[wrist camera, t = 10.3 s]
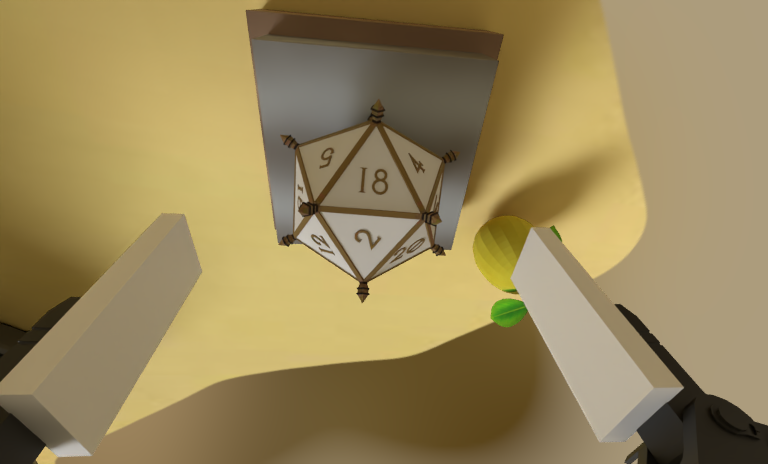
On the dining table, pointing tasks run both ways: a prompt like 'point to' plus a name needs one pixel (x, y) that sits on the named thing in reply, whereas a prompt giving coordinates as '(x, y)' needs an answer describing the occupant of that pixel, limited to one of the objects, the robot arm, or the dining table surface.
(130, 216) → the dining table surface
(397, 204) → the game die
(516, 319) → the lemon
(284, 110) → the tower base
